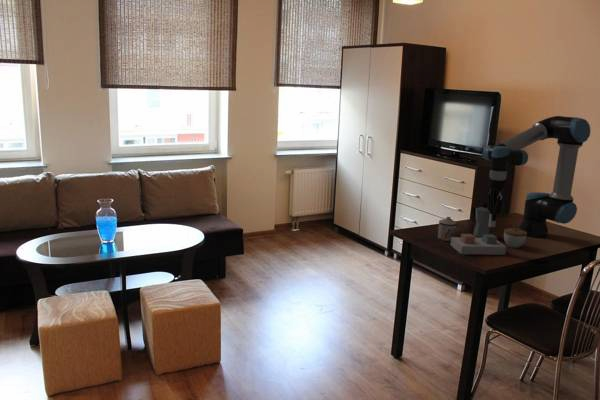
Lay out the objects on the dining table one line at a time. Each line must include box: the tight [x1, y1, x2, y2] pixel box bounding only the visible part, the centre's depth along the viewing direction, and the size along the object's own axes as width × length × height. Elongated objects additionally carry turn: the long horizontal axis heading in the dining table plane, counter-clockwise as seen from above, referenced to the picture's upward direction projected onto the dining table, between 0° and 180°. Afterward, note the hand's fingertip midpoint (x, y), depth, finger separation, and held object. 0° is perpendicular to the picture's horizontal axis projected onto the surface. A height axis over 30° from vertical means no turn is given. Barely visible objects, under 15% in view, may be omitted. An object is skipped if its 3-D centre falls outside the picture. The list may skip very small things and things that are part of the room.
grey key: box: [482, 233, 498, 244], centre depth 257 cm, size 5×5×4 cm
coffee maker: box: [472, 202, 490, 238], centre depth 281 cm, size 15×9×18 cm, turn 20°
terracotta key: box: [460, 233, 476, 244], centre depth 256 cm, size 5×5×4 cm
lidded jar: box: [503, 227, 527, 249], centre depth 265 cm, size 11×11×9 cm
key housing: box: [450, 236, 508, 256], centre depth 257 cm, size 22×14×4 cm, turn 95°
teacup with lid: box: [437, 216, 459, 242], centre depth 273 cm, size 12×9×12 cm
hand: (491, 226), depth 255 cm, fingers closed
